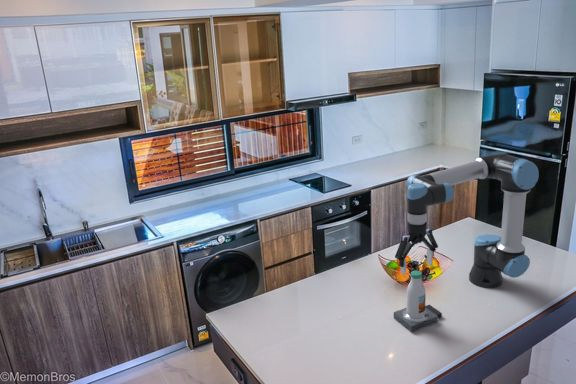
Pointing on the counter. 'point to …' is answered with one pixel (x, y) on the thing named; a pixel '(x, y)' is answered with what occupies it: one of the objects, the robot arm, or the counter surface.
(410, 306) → the milk bottle
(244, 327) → the counter surface
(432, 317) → the dark grey flat block
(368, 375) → the counter surface
